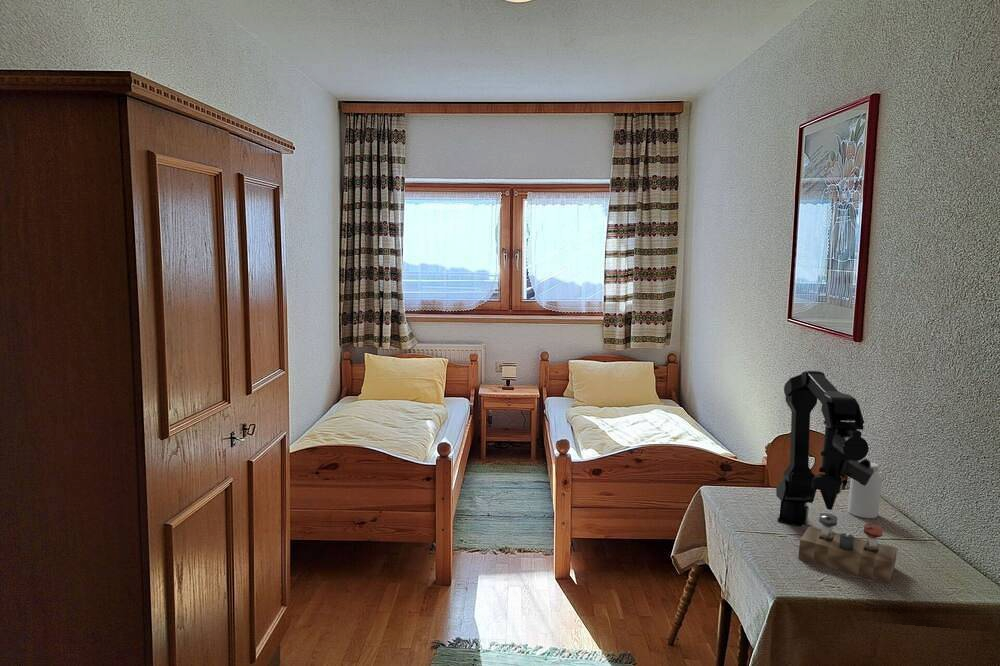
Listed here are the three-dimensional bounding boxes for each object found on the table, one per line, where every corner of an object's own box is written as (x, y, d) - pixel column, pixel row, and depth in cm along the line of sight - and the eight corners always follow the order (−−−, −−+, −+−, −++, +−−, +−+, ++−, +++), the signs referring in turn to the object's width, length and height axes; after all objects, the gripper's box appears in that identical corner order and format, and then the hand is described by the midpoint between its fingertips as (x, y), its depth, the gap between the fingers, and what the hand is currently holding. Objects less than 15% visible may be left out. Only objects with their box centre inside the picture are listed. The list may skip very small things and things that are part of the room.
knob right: (859, 555, 175) (863, 527, 174) (862, 550, 179) (865, 522, 178) (878, 560, 173) (881, 532, 172) (880, 554, 176) (884, 526, 175)
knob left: (815, 544, 181) (818, 516, 180) (818, 538, 184) (821, 512, 183) (832, 548, 179) (835, 521, 178) (835, 543, 182) (838, 516, 181)
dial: (838, 548, 176) (839, 535, 175) (840, 544, 178) (841, 531, 178) (851, 551, 174) (853, 538, 174) (853, 547, 176) (855, 534, 176)
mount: (798, 558, 181) (800, 539, 180) (807, 544, 189) (809, 526, 188) (889, 583, 170) (891, 563, 169) (894, 567, 178) (897, 548, 177)
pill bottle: (868, 508, 216) (874, 459, 213) (883, 519, 208) (889, 468, 205) (842, 508, 215) (847, 458, 213) (856, 519, 207) (862, 467, 205)
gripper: (866, 464, 166) (859, 530, 168) (878, 445, 181) (871, 506, 183) (814, 454, 172) (807, 517, 174) (830, 436, 187) (823, 495, 189)
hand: (829, 509), depth 180 cm, fingers closed
